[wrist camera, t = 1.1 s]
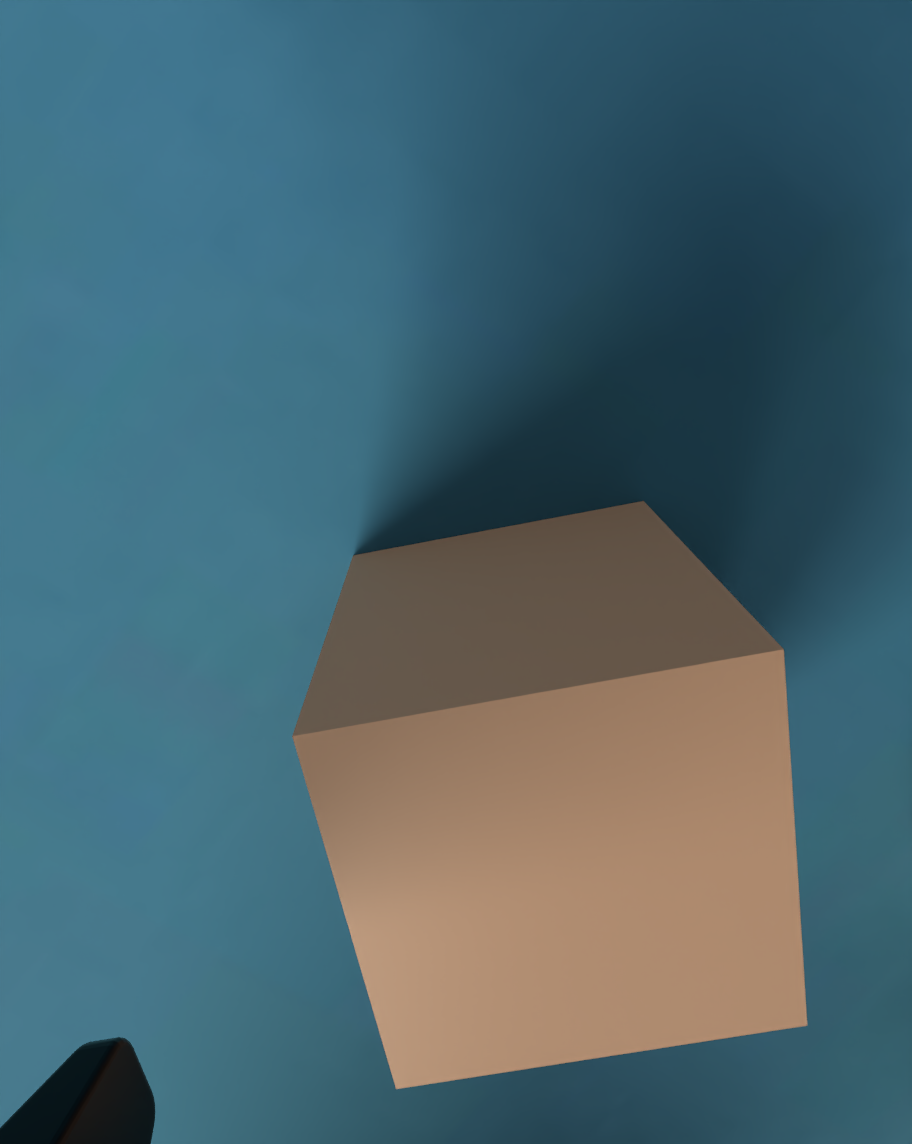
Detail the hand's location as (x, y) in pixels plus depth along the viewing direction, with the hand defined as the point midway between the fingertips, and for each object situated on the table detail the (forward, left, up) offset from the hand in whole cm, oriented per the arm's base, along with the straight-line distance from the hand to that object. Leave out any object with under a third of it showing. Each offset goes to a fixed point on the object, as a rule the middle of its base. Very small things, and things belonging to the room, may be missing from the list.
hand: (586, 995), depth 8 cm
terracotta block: (0, 0, -7) cm, 7 cm away
